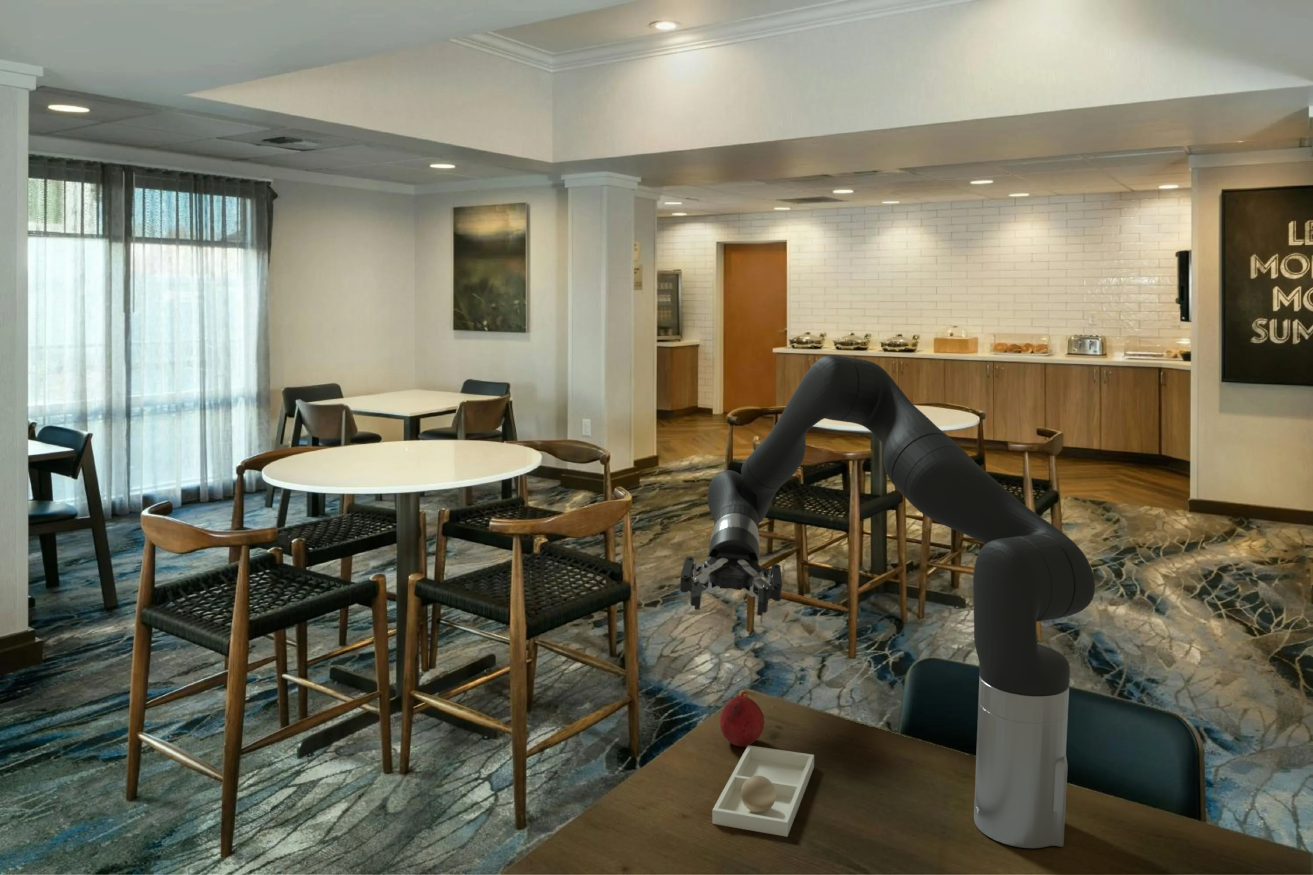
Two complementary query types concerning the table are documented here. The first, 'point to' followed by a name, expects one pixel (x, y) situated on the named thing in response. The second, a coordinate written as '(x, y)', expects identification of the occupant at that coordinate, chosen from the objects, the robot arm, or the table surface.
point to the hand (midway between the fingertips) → (728, 607)
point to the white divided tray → (788, 780)
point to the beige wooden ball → (758, 794)
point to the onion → (741, 720)
